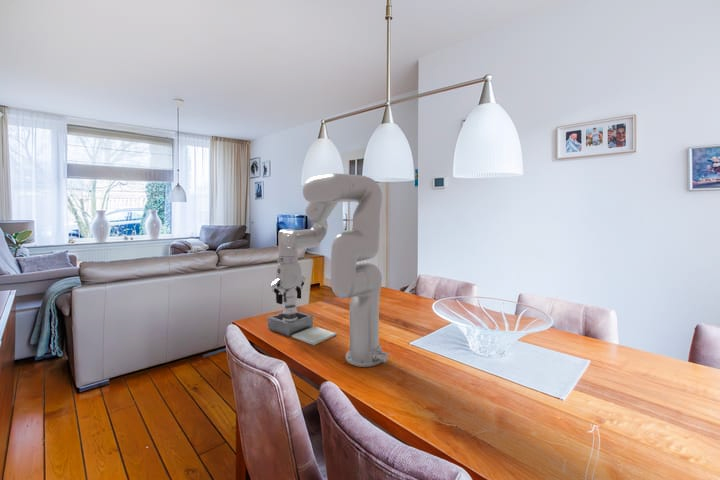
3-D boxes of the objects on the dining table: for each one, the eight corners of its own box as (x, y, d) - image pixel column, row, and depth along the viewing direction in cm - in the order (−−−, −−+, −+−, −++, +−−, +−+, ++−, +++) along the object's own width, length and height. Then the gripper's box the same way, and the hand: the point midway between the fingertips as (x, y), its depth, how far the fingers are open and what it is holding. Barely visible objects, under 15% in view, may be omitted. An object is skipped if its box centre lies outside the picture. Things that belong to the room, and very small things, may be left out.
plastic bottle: (290, 332, 133) (288, 283, 131) (279, 328, 137) (277, 281, 135) (302, 327, 138) (300, 280, 136) (291, 324, 142) (289, 278, 140)
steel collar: (312, 327, 138) (312, 315, 138) (289, 336, 129) (288, 324, 128) (291, 320, 146) (291, 309, 146) (268, 328, 137) (267, 317, 136)
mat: (336, 335, 130) (336, 333, 130) (313, 345, 120) (313, 343, 120) (314, 328, 137) (314, 326, 137) (291, 337, 128) (291, 335, 128)
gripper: (276, 263, 126) (277, 307, 128) (310, 258, 139) (310, 297, 141) (264, 261, 130) (265, 303, 132) (298, 256, 144) (299, 294, 146)
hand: (289, 300), depth 137 cm, fingers open, 9 cm apart
